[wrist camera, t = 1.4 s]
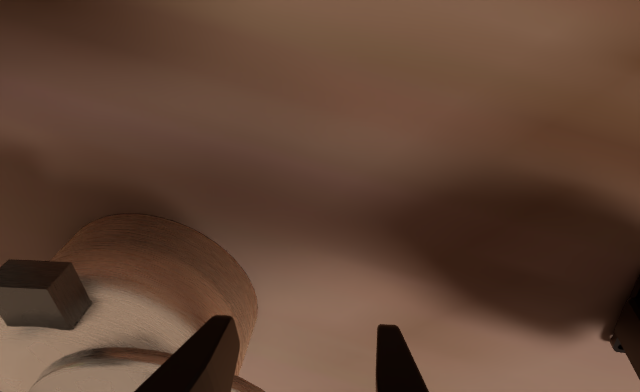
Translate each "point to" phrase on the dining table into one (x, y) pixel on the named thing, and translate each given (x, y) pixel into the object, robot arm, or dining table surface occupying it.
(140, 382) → the cooker lid
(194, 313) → the cooker pot
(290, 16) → the dining table surface
